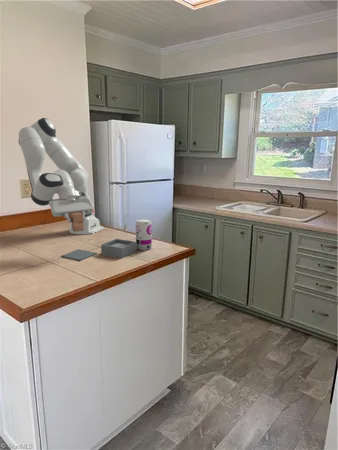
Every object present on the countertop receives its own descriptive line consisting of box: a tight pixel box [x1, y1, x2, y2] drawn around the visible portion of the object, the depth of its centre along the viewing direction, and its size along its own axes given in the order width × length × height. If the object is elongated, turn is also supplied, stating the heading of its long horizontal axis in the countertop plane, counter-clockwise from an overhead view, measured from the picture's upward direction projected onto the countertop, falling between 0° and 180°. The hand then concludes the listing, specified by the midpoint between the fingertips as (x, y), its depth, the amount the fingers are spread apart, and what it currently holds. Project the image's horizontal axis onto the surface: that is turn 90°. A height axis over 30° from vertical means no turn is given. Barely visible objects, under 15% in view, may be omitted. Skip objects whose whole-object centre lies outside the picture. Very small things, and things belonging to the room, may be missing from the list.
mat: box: [60, 248, 98, 262], centre depth 163 cm, size 12×12×1 cm
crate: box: [100, 238, 138, 259], centre depth 167 cm, size 13×13×6 cm
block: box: [70, 213, 84, 232], centre depth 159 cm, size 4×4×8 cm
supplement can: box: [135, 218, 153, 251], centre depth 174 cm, size 8×8×15 cm
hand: (77, 220), depth 160 cm, fingers closed on block, 5 cm apart
